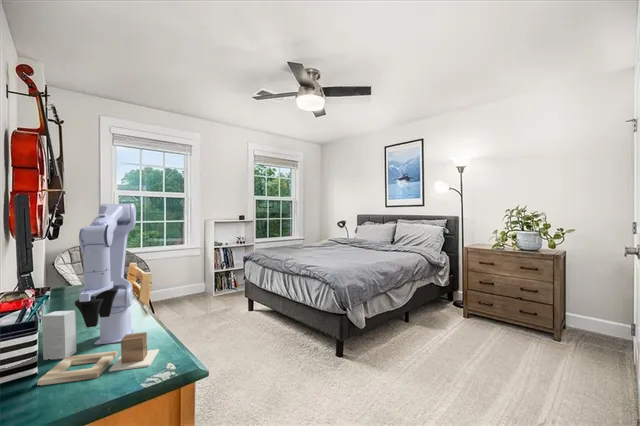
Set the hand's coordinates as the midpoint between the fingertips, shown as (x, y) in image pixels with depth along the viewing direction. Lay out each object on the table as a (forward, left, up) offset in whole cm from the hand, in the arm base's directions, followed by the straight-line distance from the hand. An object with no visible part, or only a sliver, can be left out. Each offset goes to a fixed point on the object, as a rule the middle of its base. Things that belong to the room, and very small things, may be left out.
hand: (98, 321), depth 82 cm
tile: (+3, +9, -10) cm, 14 cm away
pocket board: (+4, -3, -10) cm, 11 cm away
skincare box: (-6, -12, -11) cm, 17 cm away
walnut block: (+3, +9, -10) cm, 14 cm away
